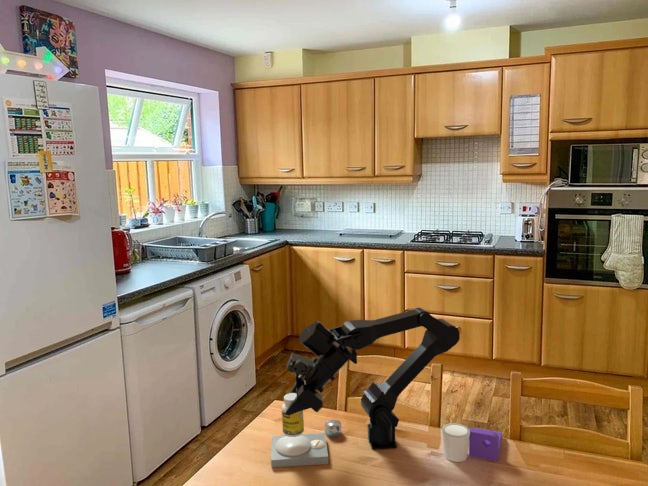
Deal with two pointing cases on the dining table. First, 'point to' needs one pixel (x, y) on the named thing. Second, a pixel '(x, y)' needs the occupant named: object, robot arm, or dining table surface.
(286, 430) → the supplement bottle
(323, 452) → the scale
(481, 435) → the purple box with knob
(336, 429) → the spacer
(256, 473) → the dining table surface
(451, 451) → the white short tapered cylinder
